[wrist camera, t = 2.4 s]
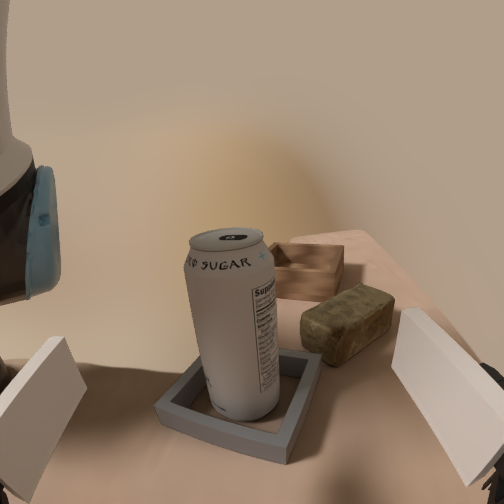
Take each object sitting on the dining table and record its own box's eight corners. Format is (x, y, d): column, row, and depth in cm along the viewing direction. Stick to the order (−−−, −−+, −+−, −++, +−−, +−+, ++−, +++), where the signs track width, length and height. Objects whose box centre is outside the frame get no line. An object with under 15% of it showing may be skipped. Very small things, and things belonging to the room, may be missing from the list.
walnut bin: (248, 294, 45) (246, 267, 43) (275, 265, 56) (274, 242, 55) (333, 302, 40) (334, 273, 38) (343, 269, 51) (344, 245, 50)
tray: (161, 424, 21) (153, 405, 20) (219, 355, 30) (216, 337, 30) (285, 464, 17) (286, 448, 16) (320, 373, 26) (321, 354, 25)
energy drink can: (224, 376, 27) (202, 226, 22) (285, 383, 25) (279, 224, 21) (202, 419, 21) (162, 250, 17) (272, 431, 20) (261, 250, 15)
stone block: (295, 350, 31) (296, 311, 29) (358, 313, 37) (361, 278, 35) (335, 374, 26) (339, 332, 24) (394, 327, 32) (399, 291, 31)
